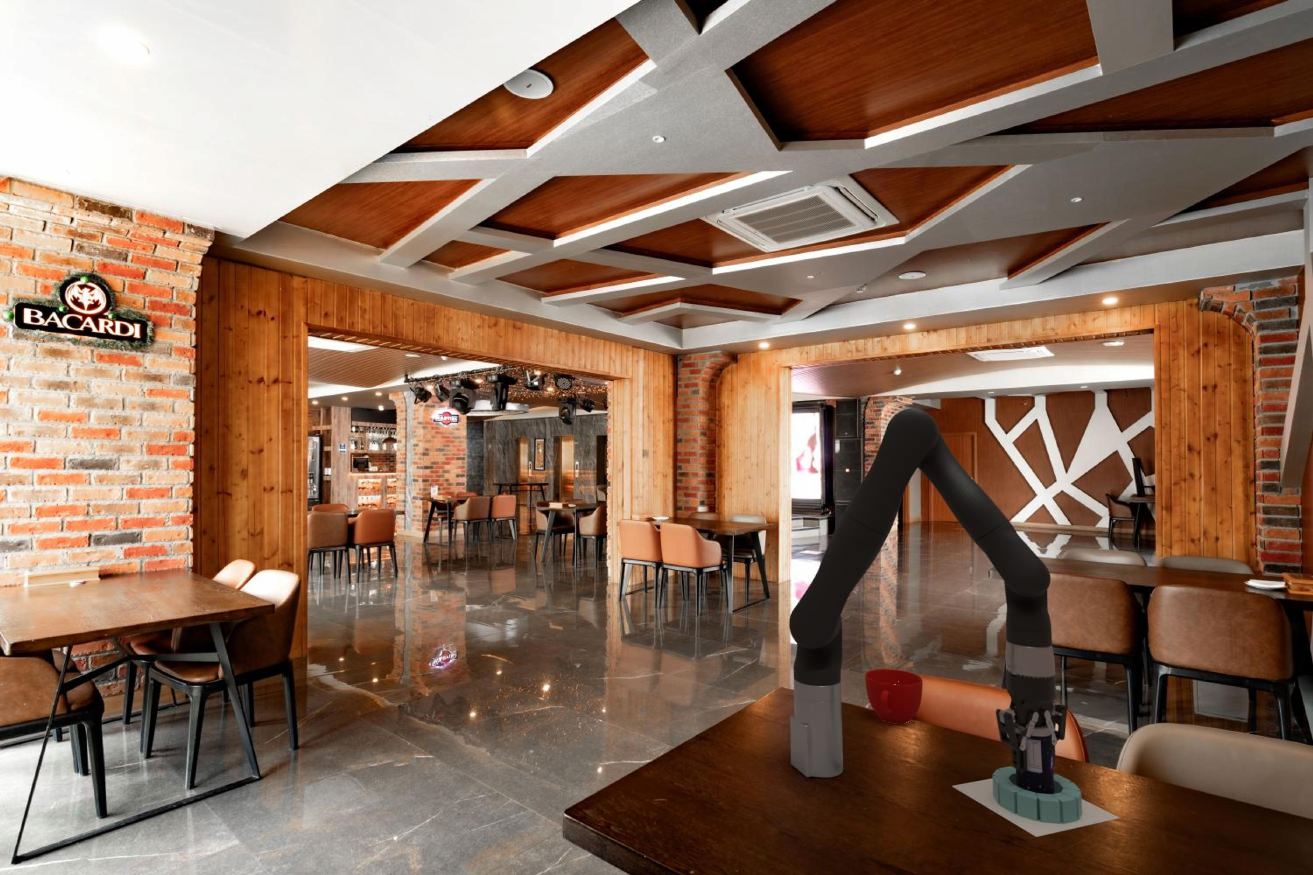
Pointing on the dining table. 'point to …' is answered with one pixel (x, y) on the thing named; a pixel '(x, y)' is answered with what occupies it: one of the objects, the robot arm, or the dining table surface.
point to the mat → (984, 795)
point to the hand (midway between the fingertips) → (1034, 767)
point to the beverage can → (1037, 762)
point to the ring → (1038, 798)
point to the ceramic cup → (894, 694)
